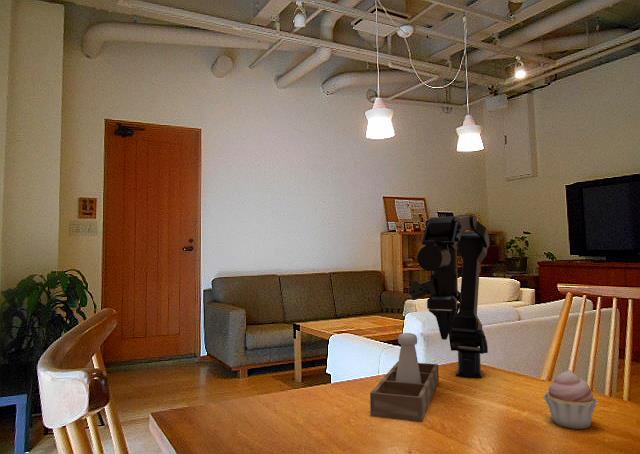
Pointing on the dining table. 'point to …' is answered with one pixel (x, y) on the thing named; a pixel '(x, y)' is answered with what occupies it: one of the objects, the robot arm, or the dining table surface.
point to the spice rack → (404, 395)
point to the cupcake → (570, 401)
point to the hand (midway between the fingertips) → (446, 336)
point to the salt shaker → (408, 359)
